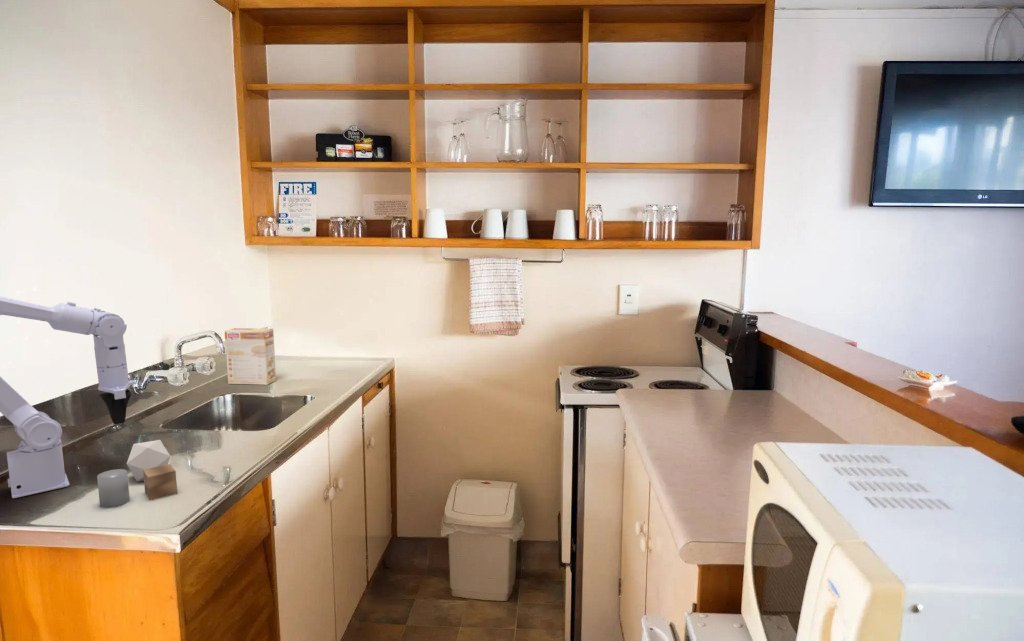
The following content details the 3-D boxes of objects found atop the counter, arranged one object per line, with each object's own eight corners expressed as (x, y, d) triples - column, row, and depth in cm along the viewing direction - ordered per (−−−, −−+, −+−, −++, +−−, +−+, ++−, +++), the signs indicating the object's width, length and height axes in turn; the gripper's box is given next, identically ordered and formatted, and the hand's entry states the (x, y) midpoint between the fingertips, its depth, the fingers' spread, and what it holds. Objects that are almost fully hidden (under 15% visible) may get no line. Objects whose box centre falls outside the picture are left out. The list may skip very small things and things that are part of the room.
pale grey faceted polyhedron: (173, 469, 140) (144, 438, 138) (185, 459, 134) (156, 426, 133) (141, 493, 133) (110, 461, 132) (153, 484, 128) (121, 450, 127)
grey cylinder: (102, 510, 117) (99, 481, 117) (98, 501, 121) (95, 473, 120) (131, 502, 121) (129, 474, 120) (127, 494, 124) (124, 467, 124)
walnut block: (149, 500, 122) (147, 477, 121) (145, 492, 126) (143, 469, 125) (177, 493, 125) (175, 470, 124) (171, 486, 129) (170, 463, 128)
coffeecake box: (276, 380, 222) (274, 328, 219) (267, 385, 214) (264, 331, 212) (238, 379, 223) (234, 327, 220) (227, 384, 216) (223, 330, 213)
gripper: (138, 367, 133) (145, 426, 135) (126, 357, 144) (133, 412, 146) (100, 373, 129) (108, 433, 131) (91, 362, 139) (98, 418, 142)
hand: (118, 422), depth 138 cm, fingers closed
